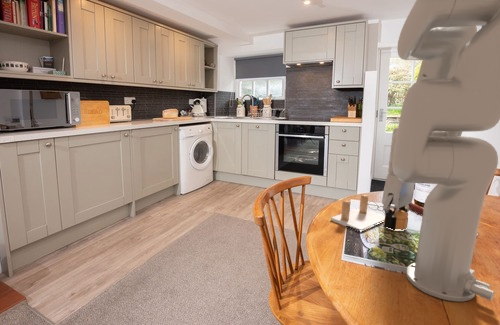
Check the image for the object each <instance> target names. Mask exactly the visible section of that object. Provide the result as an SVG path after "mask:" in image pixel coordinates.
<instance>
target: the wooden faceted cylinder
mask: <svg viewBox="0 0 500 325" xmlns="http://www.w3.org/2000/svg"><path fill="white" fill-rule="evenodd" d="M390 210H392V212H393V211H394V209H393V208H390ZM395 217H397V220H396V228H395V229H401V230H403V229H406V228H407V229H408V225H409V224H408V223H409V212H408V213H407V212H405V211H403V210H399V209H398V210H397V213H396V216H395ZM384 223H385V220H384ZM384 223H383V224H384Z"/></svg>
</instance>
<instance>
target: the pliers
mask: <svg viewBox="0 0 500 325" xmlns="http://www.w3.org/2000/svg"><path fill="white" fill-rule="evenodd" d="M423 209H424V207H421V206H419V205H416V204H415V203H413V201H412V202H411V203H410V206H409V211H410V210H411V211H412V212H414V211H415V213H416V212H417V214H419V215H421V214H422V215H421V216H423Z"/></svg>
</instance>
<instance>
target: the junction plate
mask: <svg viewBox="0 0 500 325" xmlns="http://www.w3.org/2000/svg"><path fill="white" fill-rule="evenodd" d="M359 199H360V201H359V207H357V208H354V209H352V210H351V200H345V199H344V200H342V202H341V203H342V204H341V213H340V214H336V215H334V216H331V217H330V221H332V222H334V223H335V224H338V225H341V226H344V227H346V226H350V227H353V228H356V229H359V230H363V229H365V228H367V227H369V226H371V225H375V224H377V223H380V222H382V221H384V220H385V214H384V215H383V214H381V213H378V212H375V211H371V210H369V209H368V204H369V195H368V194H361V195H360V198H359Z"/></svg>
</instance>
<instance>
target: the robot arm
mask: <svg viewBox="0 0 500 325" xmlns="http://www.w3.org/2000/svg"><path fill="white" fill-rule="evenodd" d="M478 26H479V27H481V28H480V29H479V30H478V29H477V27H478ZM398 36H399V37H398V41H397V49H396V50H397V54H398V57H399V58H400V59H401V60H404V61H421V63H420V64H421V65H420V68H419V70H418V74H417V78H416V80H415V83H413V84H412V85H411V86H410V88H408V91H407V93H406V94H405V97H404V99H403V102H402V106H401V110H400V111H401V112H400V116H399V122H398V126H397V127H394V129H393V131H392V135H391V145H390V152H389V163H388V171H387V172H388V173H387V176H386V179H385V183H384V188H383V192H382V200H381V204H382V209H383V211H384V216H385V223H383V227H384V226H385V227H388V228H391V229H393V230H395V228H396V220H397V217H395V216H396V213H397V210H398V209H399V210H403V211H405V212H407V213H408V214H409V211H410V209H409V206H410V203H411V202H412V203H413V199H414V191H415V184H431V185H435V186H434V187H433V188H432V189H431V191H429V193H428V195H426V198H425V200H424V204H423V215H421V224H420V231H419V236H418V237H419V238H418V243H417V244H418V245H417V249H416V250H417V251H416V257H415V262H413V263H410V264H409V265H408V266H407V267H406V269H405V276H406V279H407V280H408V282H410V283H411V284H412V285H413V287H415V288H417V289H418V290H420V291H422V292H424V293H425V294H427V295H429V296H431V297H434V298H438V299H441V300H445V301H449V302H467V301H470V300H472V299H473V298H475V297H476V295H478V296H479V297H481V298H482V299H486V300H487V301H490V302H491V301H493V298H494V296H495V291H494V290H493V289H491V284H489V283H487V282H484V281H482V280H479V279H477V277H475V276H474V274H475V272H476V271H475V269H472V268H471V265H472V261H473V256H474V251H475V244H476V240H477V235H478V229H479V225H480V219H481V215H482V210H483V205H484V201H485V197H486V194H487V192H488V190H489V187H490V185H491V183H492V181H493V178H494V176H495V175H496V174H495V173H496V170H497V168H498V164H499V155H498V152H497V150H496V148H495V147H494V146H493V145H492V144H491V143H490V142H488V141H487V140H484V139H481V138H478V137H471V136H462V134H463V132H484V131H488V130H491V129H493V128H494V127H496V126H497V124H498V123H499V121H500V0H416V1H415V2H414V3H413V6H412V8H411V9H410V11H409V13H408V15H407V16H406V19H405V21H404V24H403V25H402V28H401V30H400V34H399V35H398ZM390 209H394V211H393V212H392V210H390ZM385 227H384V228H385Z"/></svg>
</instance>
